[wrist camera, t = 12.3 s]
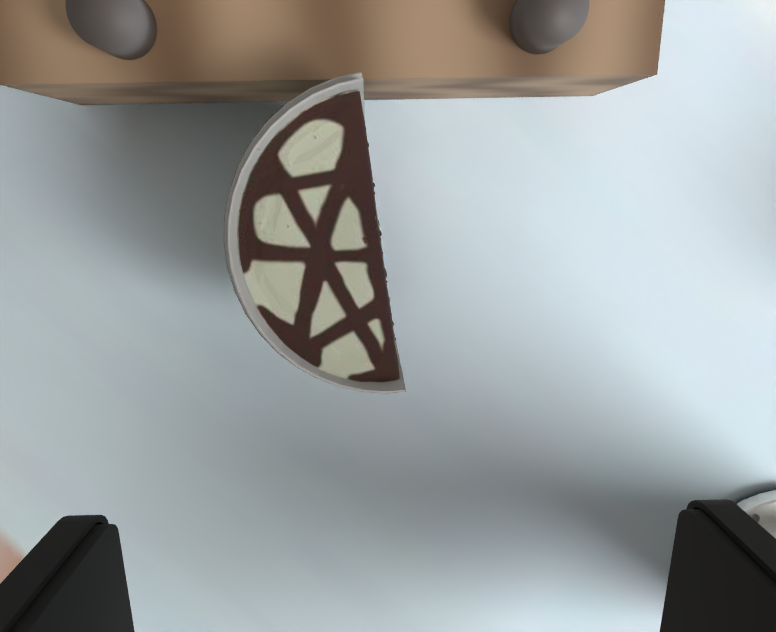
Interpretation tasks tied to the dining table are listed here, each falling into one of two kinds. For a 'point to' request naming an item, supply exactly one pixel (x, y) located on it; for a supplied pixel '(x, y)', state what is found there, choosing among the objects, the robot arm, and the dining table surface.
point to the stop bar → (324, 48)
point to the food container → (314, 241)
